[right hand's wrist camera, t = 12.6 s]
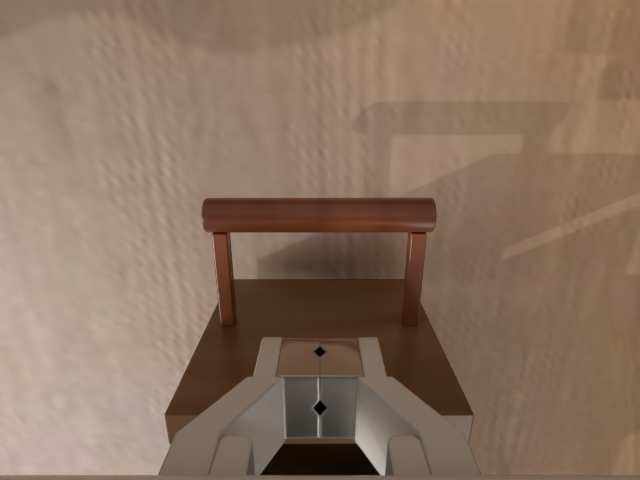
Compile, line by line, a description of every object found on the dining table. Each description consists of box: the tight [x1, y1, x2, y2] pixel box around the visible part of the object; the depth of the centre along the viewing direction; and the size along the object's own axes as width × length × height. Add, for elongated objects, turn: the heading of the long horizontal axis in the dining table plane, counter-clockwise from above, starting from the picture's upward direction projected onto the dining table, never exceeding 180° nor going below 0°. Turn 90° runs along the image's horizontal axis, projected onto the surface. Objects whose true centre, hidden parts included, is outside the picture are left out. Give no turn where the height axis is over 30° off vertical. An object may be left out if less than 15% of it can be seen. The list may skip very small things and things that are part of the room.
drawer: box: [165, 198, 474, 475], centre depth 19 cm, size 24×10×10 cm, turn 0°
